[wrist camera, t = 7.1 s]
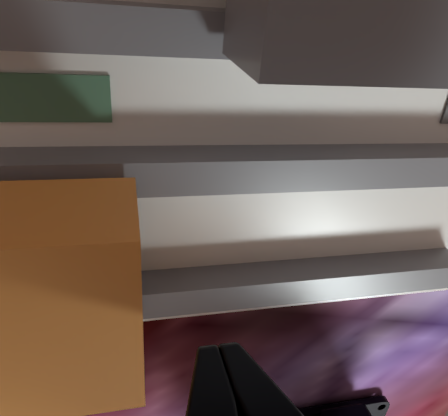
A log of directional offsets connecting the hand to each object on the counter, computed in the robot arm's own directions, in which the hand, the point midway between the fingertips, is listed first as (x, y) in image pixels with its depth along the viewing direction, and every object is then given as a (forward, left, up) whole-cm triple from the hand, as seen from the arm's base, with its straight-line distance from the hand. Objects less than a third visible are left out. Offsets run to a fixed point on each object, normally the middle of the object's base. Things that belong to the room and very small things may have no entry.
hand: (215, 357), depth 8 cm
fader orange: (0, +3, -5) cm, 6 cm away
